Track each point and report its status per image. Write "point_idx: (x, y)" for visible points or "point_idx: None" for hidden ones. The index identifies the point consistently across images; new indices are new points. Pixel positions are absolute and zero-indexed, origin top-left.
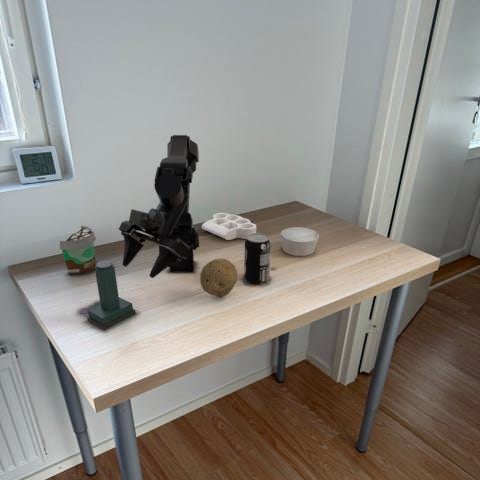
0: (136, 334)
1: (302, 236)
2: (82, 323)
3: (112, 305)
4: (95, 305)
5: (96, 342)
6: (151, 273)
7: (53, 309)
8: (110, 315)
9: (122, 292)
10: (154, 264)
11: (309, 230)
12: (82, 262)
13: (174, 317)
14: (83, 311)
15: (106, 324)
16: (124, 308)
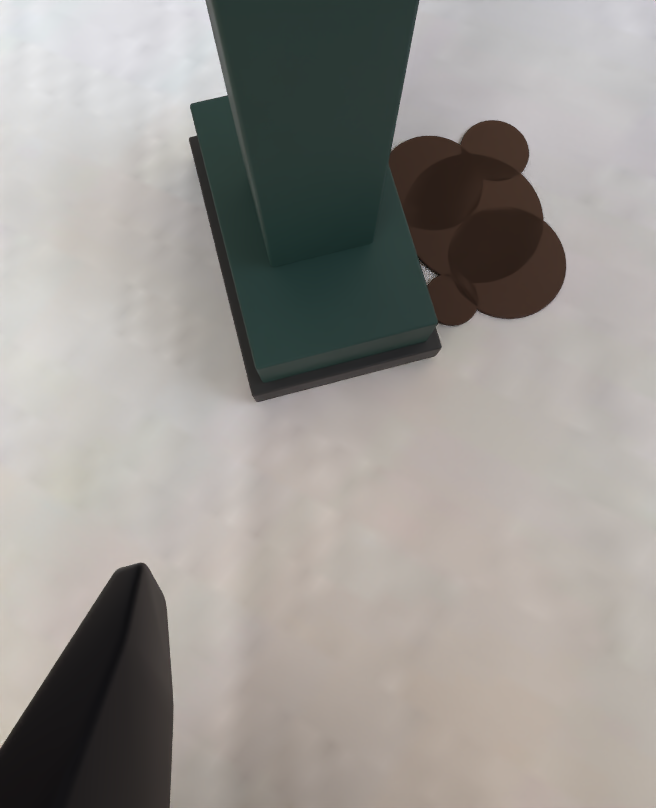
0: (21, 289)
1: None
2: None
3: (249, 183)
4: (526, 227)
5: (107, 74)
6: (105, 599)
7: (624, 15)
8: (207, 169)
9: (617, 465)
10: (69, 744)
11: None
12: None
13: (28, 614)
14: (492, 139)
15: (200, 158)
16: (236, 291)
